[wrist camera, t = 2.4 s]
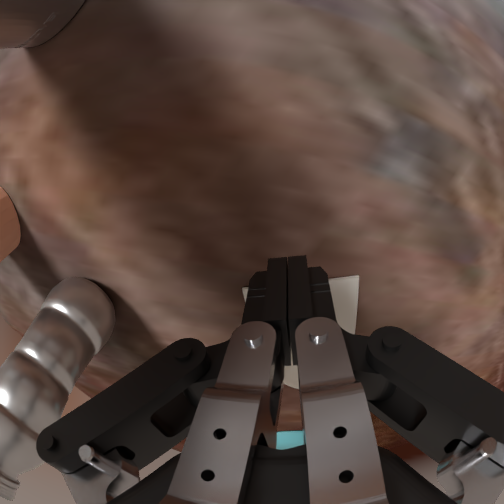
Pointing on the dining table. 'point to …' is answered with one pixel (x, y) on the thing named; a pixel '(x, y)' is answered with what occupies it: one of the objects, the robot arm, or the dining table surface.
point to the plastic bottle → (48, 371)
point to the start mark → (341, 300)
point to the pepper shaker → (8, 226)
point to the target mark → (289, 439)
